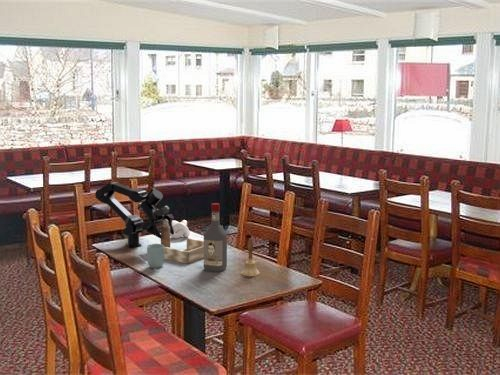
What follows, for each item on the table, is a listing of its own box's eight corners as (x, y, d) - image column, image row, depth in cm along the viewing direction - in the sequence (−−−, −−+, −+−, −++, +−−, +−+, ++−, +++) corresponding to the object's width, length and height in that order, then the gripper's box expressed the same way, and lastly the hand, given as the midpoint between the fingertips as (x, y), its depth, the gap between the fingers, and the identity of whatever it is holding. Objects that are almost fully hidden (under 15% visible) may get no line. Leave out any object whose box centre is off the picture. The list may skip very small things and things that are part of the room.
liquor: (209, 264, 285) (210, 201, 280) (228, 267, 282) (228, 202, 277) (201, 270, 276) (201, 204, 271) (220, 272, 273) (221, 206, 268)
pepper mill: (159, 251, 305) (159, 218, 302) (168, 250, 307) (168, 217, 305) (163, 253, 301) (162, 220, 298) (171, 252, 304) (171, 219, 301)
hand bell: (242, 276, 268) (243, 241, 266) (239, 271, 276) (240, 236, 274) (261, 276, 270) (262, 240, 267) (257, 270, 278) (258, 235, 275)
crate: (161, 259, 293) (161, 246, 292) (187, 249, 309) (187, 238, 308) (188, 264, 284) (188, 252, 283) (213, 254, 301) (213, 243, 300)
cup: (166, 265, 283) (166, 244, 282) (162, 270, 276) (162, 248, 274) (149, 264, 284) (149, 243, 282) (145, 269, 276) (145, 247, 275)
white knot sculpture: (171, 233, 341) (171, 218, 339) (192, 234, 339) (192, 218, 338) (166, 239, 329) (166, 222, 328) (188, 239, 328) (188, 223, 327)
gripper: (145, 204, 294) (163, 230, 291) (171, 198, 310) (188, 222, 306) (133, 218, 300) (151, 243, 296) (159, 211, 315) (176, 235, 312)
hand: (167, 236), depth 302 cm, fingers open, 9 cm apart
